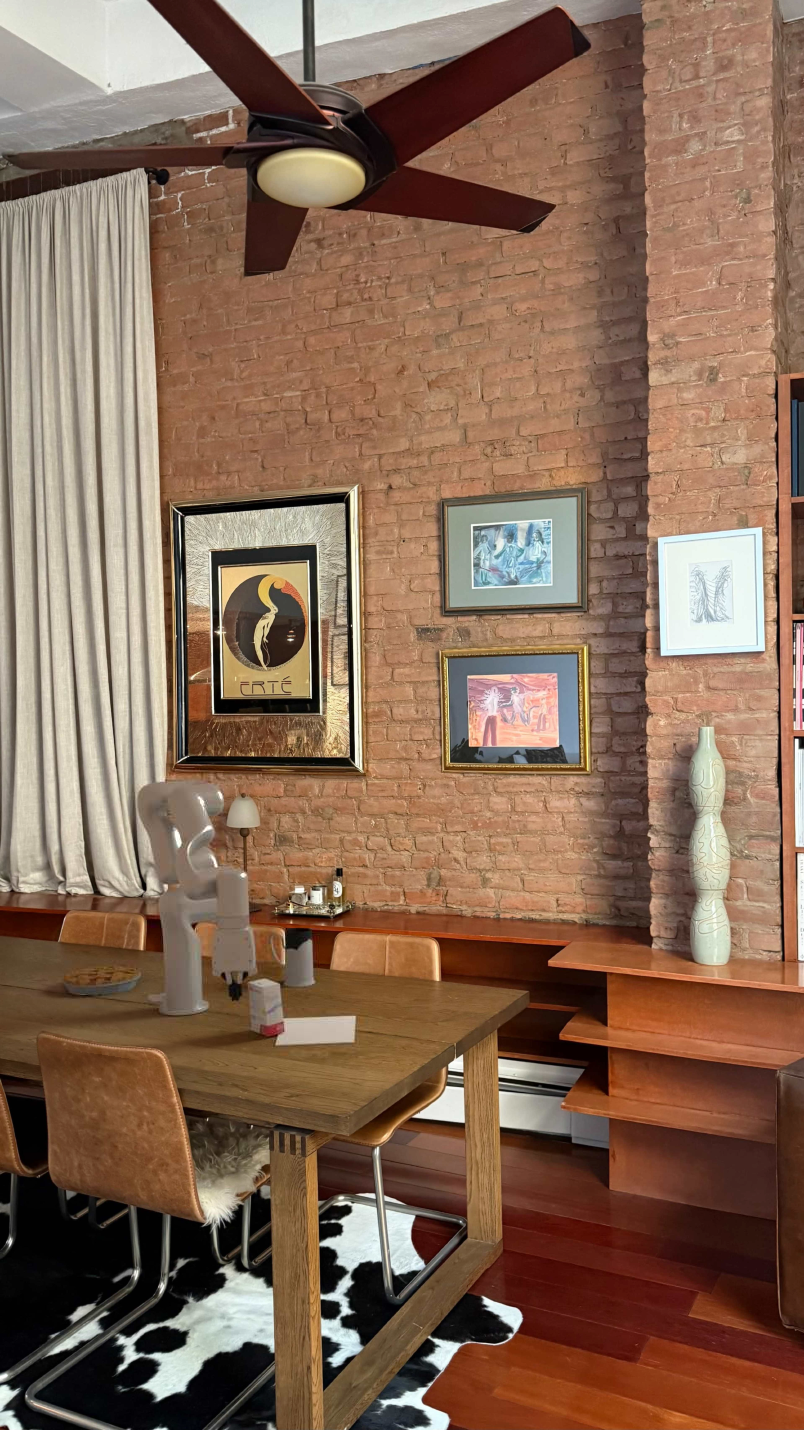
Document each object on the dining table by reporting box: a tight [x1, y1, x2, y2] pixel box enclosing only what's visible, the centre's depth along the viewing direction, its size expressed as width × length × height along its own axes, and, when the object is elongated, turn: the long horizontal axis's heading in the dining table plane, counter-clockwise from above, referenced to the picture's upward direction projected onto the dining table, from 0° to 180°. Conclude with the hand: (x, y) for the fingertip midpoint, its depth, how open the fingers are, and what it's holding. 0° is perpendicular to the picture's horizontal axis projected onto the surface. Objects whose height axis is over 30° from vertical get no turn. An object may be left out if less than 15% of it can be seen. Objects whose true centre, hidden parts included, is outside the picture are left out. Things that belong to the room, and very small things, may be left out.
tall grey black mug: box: [270, 927, 316, 988], centre depth 311 cm, size 9×14×15 cm, turn 58°
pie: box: [61, 964, 142, 996], centre depth 311 cm, size 22×22×5 cm
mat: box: [275, 1015, 357, 1047], centre depth 261 cm, size 18×22×1 cm
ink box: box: [247, 978, 285, 1038], centre depth 261 cm, size 9×5×12 cm, turn 33°
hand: (235, 999), depth 260 cm, fingers closed
